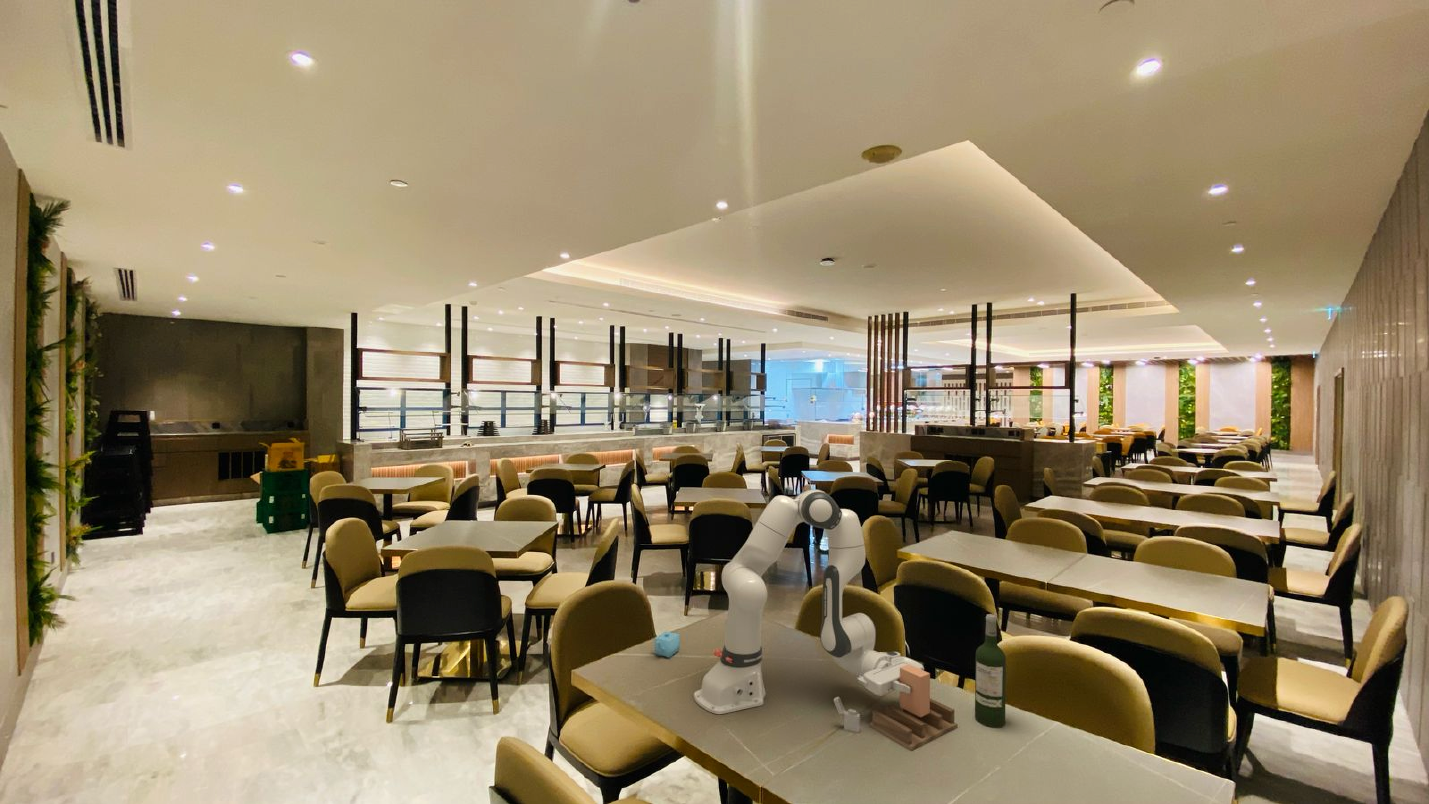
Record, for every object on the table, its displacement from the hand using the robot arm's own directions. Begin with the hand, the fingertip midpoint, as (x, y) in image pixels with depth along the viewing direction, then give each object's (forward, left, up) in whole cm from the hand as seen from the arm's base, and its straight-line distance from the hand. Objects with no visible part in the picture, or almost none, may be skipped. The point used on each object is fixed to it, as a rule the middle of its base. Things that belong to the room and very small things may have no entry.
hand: (917, 687), depth 169 cm
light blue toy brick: (-34, +80, -12) cm, 88 cm away
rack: (0, +1, -11) cm, 11 cm away
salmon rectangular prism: (0, +1, -7) cm, 7 cm away
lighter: (-16, +11, -12) cm, 23 cm away
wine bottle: (+21, -9, -12) cm, 25 cm away
